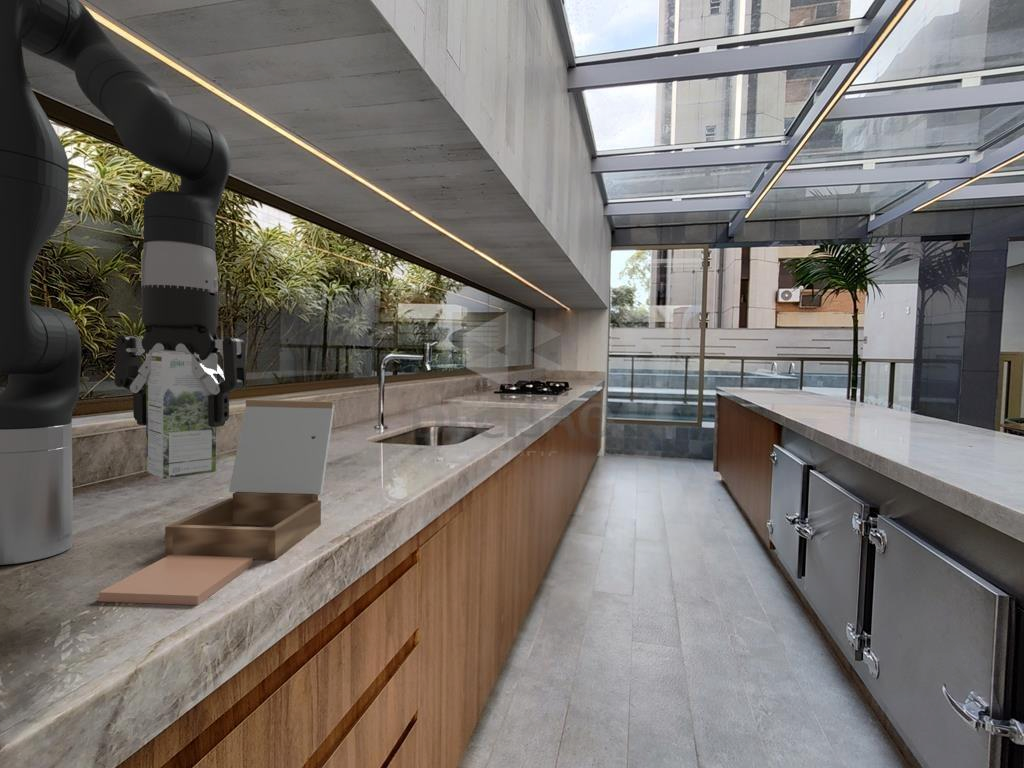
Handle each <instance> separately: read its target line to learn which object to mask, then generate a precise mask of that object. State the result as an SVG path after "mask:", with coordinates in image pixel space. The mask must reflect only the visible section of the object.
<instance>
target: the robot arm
mask: <svg viewBox="0 0 1024 768" xmlns="http://www.w3.org/2000/svg"><path fill="white" fill-rule="evenodd" d="M23 49H26V50H28V51H30V52H32V53H34V54H36V55H37V56H39V57H42V58H44V59H47V60H50V61H53V62H56V63H58V64H60V65H61V66H62V65H63V66H64V67H66V68H68V69H70V70H71V71H72V72H74V75H75V79H76V82H77V85H78V87H79V89H80V90H81V91H82V93H83V95H85V98H87V99H88V100H89V101H90V103H91V104H92V106H94V107H95V108H96V109H97V110H99V112H100V113H101V114H102V115H104V117H106V119H108V120H109V121H110V122H111V123H112V125H113V127H114V130H115V132H116V133H117V135H118V138H119V140H120V141H121V143H122V145H123V147H124V148H125V149H126V150H127V151H128V152H129V153H130V154H131V155H133V156H134V157H135V158H136V159H138V160H140V161H141V162H142V163H143V164H147V165H149V166H150V167H153V168H155V169H159V170H161V171H164V172H166V173H169V174H172V175H174V176H177V177H180V185H179V188H178V189H177V191H174V190H158V191H157V190H156V191H153V192H150V193H148V194H147V195H146V197H145V199H144V200H143V201H144V202H143V210H142V211H143V248H142V249H143V250H142V256H141V263H140V269H141V270H140V271H141V272H140V275H141V280H140V281H141V284H140V285H141V286H140V287H141V290H140V291H141V292H140V293H141V322H142V324H143V326H144V328H145V332H144V336H143V337H142V338H141V337H139V336H132V335H131V336H130V335H118V337H117V338H116V339H115V340H116V341H115V359H114V361H115V365H114V384H115V386H116V387H118V388H124V389H127V390H129V391H130V392H132V403H133V404H132V405H133V407H132V408H133V409H132V410H133V412H132V413H133V414H132V415H133V418H134V421H136V424H137V425H138V426H146V385H147V381H148V378H149V375H150V372H151V355H152V354H153V353H154V352H155V351H153V350H176V351H178V352H185V353H186V354H191V355H192V361H193V363H192V372H193V373H194V374H195V376H196V377H197V378H198V379H199V380H201V381H203V383H204V384H205V385H206V387H207V388H208V390H209V391H210V392H211V393H212V395H209V396H208V425H209V426H210V427H217V428H220V427H223V426H225V424H226V422H227V421H228V420H229V418H230V395H231V393H232V392H235V391H237V390H241V389H242V390H243V389H244V388H246V387H247V369H246V350H245V349H246V348H245V340H243V339H242V338H238V337H225V338H223V339H220V338H219V337H218V335H217V329H218V326H219V272H218V271H219V270H218V264H217V256H216V217H217V213H218V209H219V208H220V204H221V200H222V198H223V193H224V189H225V187H226V183H227V181H228V177H229V173H230V171H231V170H230V169H231V164H232V162H231V161H232V157H231V152H230V147H229V144H228V141H227V140H226V138H225V137H224V135H223V134H222V132H220V130H219V129H217V128H216V127H215V126H214V125H211V124H209V123H207V122H205V121H204V120H201V119H199V118H197V117H195V116H193V115H191V114H190V113H188V112H185V111H184V110H182V109H180V108H178V107H176V106H175V105H173V102H172V100H171V99H170V97H169V96H168V94H167V93H166V92H165V90H164V89H163V88H162V87H161V86H160V84H158V83H157V82H156V81H155V80H154V79H152V78H151V77H150V76H149V75H148V74H146V72H144V71H143V70H142V69H141V68H140V67H139V66H137V65H136V64H135V63H134V62H133V61H132V60H131V59H130V58H129V57H127V56H126V55H124V53H122V52H121V51H120V50H119V49H118V47H117V46H116V45H115V44H114V43H113V41H112V40H111V39H110V38H109V36H108V35H107V33H105V31H104V30H103V29H102V27H101V26H100V25H99V23H98V22H97V21H96V19H95V18H94V16H93V15H92V14H91V13H90V11H89V10H88V8H87V7H86V6H85V5H84V4H83V3H82V2H81V1H80V0H0V375H8V380H7V381H8V382H7V385H6V386H5V388H4V390H2V392H0V565H1V566H3V565H6V566H7V565H15V564H23V563H28V562H33V561H37V560H38V561H39V560H42V559H46V558H50V557H53V556H55V555H58V554H61V553H64V552H66V551H68V550H69V549H71V548H72V547H73V544H74V534H73V533H74V529H73V528H74V525H73V524H74V520H73V519H74V508H73V507H74V503H73V502H74V500H73V499H74V496H73V492H74V491H73V490H74V489H73V486H74V485H73V484H74V483H73V425H72V421H73V420H72V419H73V418H72V417H73V411H74V409H75V408H76V405H77V404H78V402H79V401H78V400H79V397H80V390H81V388H80V387H81V371H82V370H81V366H82V341H81V336H80V331H79V329H78V327H77V324H76V323H75V321H74V320H73V319H72V317H71V316H69V315H68V314H67V313H65V312H63V311H62V310H60V309H56V308H52V307H48V306H41V305H34V304H33V305H32V304H31V279H32V272H33V267H34V264H35V261H36V259H37V257H38V254H39V253H40V252H41V250H42V249H43V247H44V246H45V245H46V243H47V242H48V241H49V240H50V238H51V237H52V235H53V234H54V233H55V231H56V230H57V228H58V227H59V225H60V224H61V223H62V221H63V219H64V217H65V215H66V213H67V208H68V199H69V177H70V176H69V172H70V168H69V158H68V155H67V152H66V151H65V148H64V146H63V144H62V140H61V139H60V137H59V136H58V135H59V134H58V133H57V132H56V130H55V127H54V126H53V124H52V122H51V121H50V119H49V117H48V116H47V114H46V112H45V111H44V109H43V108H42V106H41V104H40V102H39V100H38V99H37V97H36V95H35V93H34V91H33V89H32V86H31V84H30V81H29V78H28V75H27V72H26V68H25V62H24V55H23ZM149 350H151V351H149ZM218 351H219V354H220V355H221V356H222V359H223V369H222V368H221V367H220V365H219V364H218V363H217V371H215V370H214V369H208V368H206V367H205V366H204V365H203V364H202V363H201V361H200V360H199V359H198V357H196V356H195V355H194V354H195V353H196V354H199V358H200V359H201V360H205V359H207V357H208V356H209V355H210V353H216V354H217V353H218ZM149 352H150V355H149V356H148V357H147V359H146V358H145V360H144V361H143V363H142V355H143V354H144V353H147V354H149ZM214 375H217V380H216V379H215V377H214Z"/></svg>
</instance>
